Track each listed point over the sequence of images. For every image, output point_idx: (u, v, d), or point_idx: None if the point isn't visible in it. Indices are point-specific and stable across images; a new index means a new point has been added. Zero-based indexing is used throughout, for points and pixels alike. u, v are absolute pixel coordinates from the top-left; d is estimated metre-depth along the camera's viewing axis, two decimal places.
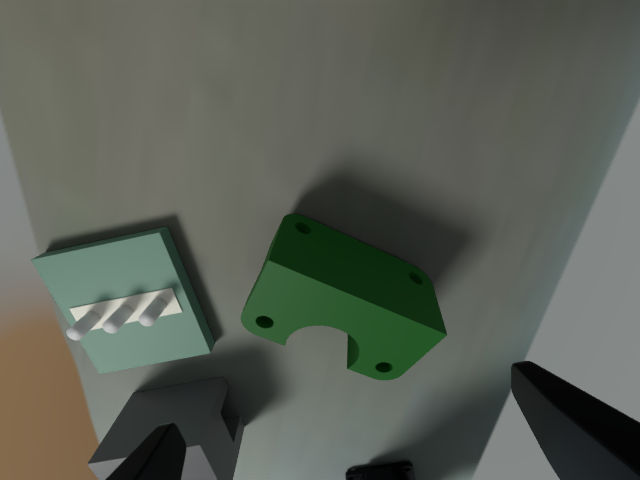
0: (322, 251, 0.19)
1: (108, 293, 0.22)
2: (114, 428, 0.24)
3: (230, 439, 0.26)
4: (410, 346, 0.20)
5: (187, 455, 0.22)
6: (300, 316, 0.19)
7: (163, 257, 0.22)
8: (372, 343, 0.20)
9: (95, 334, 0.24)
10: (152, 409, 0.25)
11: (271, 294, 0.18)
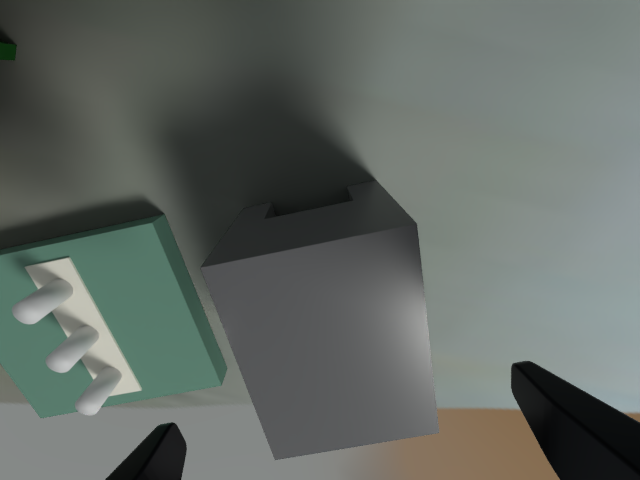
0: None
1: None
2: None
3: (336, 205, 0.12)
4: None
5: (239, 297, 0.09)
6: None
7: None
8: None
9: (145, 376, 0.16)
10: None
11: None
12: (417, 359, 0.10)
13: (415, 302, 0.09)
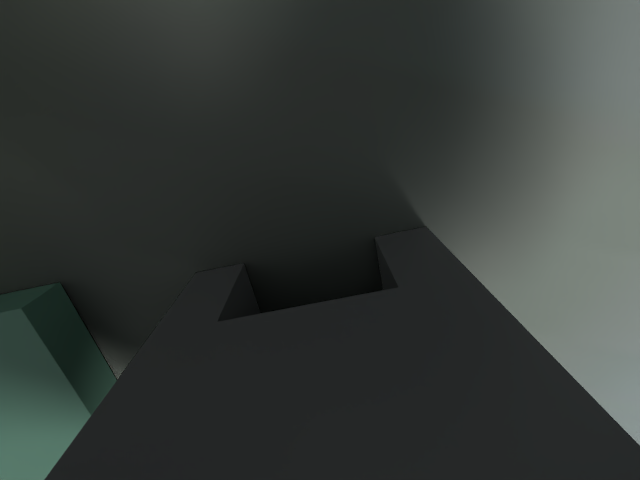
0: None
1: None
2: None
3: (364, 300, 0.06)
4: None
5: None
6: None
7: None
8: None
9: None
10: None
11: None
12: None
13: None
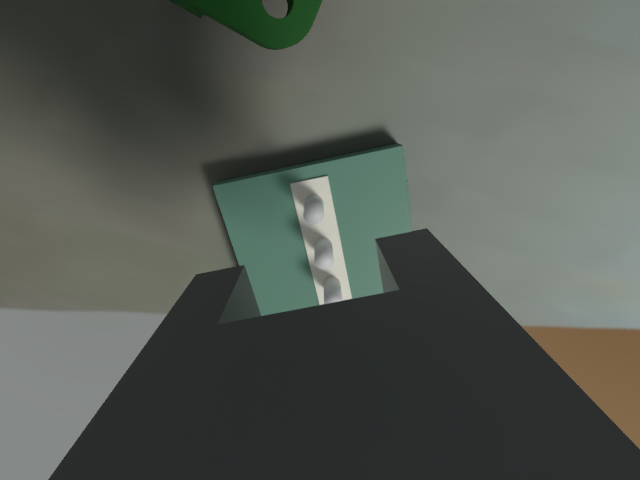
0: None
1: (299, 260, 0.19)
2: None
3: (365, 302, 0.06)
4: None
5: None
6: None
7: (245, 186, 0.17)
8: None
9: (358, 287, 0.19)
10: None
11: None
12: None
13: None
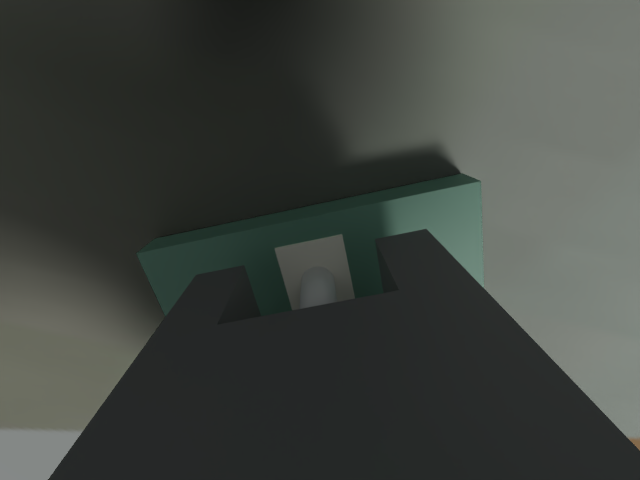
0: None
1: None
2: None
3: (364, 303, 0.06)
4: None
5: None
6: None
7: (196, 253, 0.09)
8: None
9: None
10: None
11: None
12: None
13: None
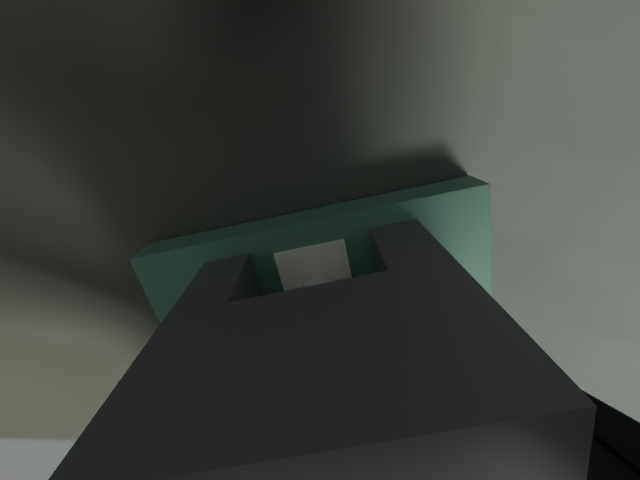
0: None
1: None
2: None
3: (358, 281, 0.06)
4: None
5: None
6: None
7: (191, 259, 0.09)
8: None
9: None
10: None
11: None
12: None
13: None
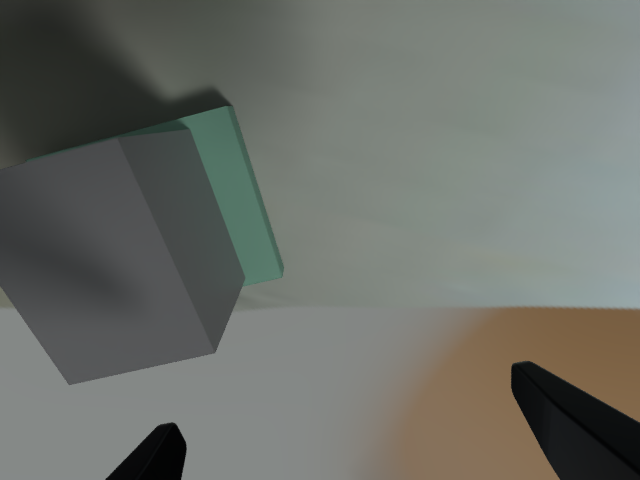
0: None
1: None
2: None
3: None
4: None
5: None
6: None
7: None
8: None
9: None
10: None
11: None
12: (166, 276, 0.11)
13: (144, 217, 0.10)
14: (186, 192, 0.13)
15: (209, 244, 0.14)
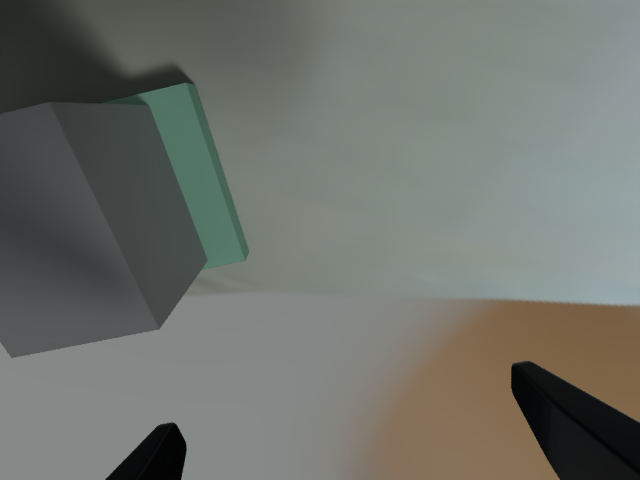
0: None
1: None
2: None
3: None
4: None
5: None
6: None
7: None
8: None
9: None
10: None
11: None
12: (106, 248, 0.11)
13: (80, 186, 0.10)
14: (138, 166, 0.13)
15: (163, 221, 0.14)
